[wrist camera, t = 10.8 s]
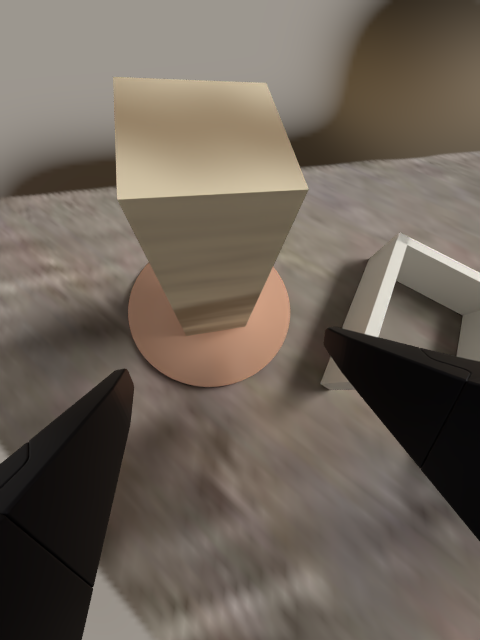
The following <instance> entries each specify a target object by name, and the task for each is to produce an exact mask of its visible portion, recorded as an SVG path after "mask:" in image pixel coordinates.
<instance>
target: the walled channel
mask: <svg viewBox="0 0 480 640" xmlns="http://www.w3.org/2000/svg"><path fill="white" fill-rule="evenodd" d="M396 281H398V282H400V283H402V284H403V285H405V286H407V287H409V288H411V289H413V290H415V291H417V292H419V293H421V294H423V295H424V296H426V297H428V298H430V299H432V300H434V301H436V302H438V303H440V304H442V305H444V306H445V307H447V308H449V309H451V310H453V311H455V312H457V313H459V314H461V315H463V318H462V324H461V330H460V337H459V343H458V349H457V355H456V356H457V357H461V358H466V359H471V360H475V361H480V273H479V272H477V271H475V270H473V269H471V268H469V267H467V266H465V265H463V264H461V263H459V262H457V261H455V260H453V259H451V258H449V257H447V256H445V255H443V254H442V253H440V252H438V251H436V250H434V249H432V248H430V247H428V246H426V245H424V244H422V243H420V242H418V241H416V240H414V239H412V238H410V237H408V236H406V235H404V234H402V233H400V232H399V233H398V234H397V235H396V236H395V237H393V238H392V239H391V240H390V241H389V242H388V243H387V244H385V245H384V246H383V247H382V248H381V249H380V250H378V251H377V252H376V253H375V254H374V255H373V256H372V257H370V258H369V260H368V263H367V265H366V268H365V271H364V273H363V276H362V278H361V281H360V283H359V286H358V288H357V291H356V293H355V296H354V299H353V301H352V304H351V306H350V309H349V311H348V314H347V316H346V319H345V322H344V324H343V327H342V328H343V329H347V330H351V331H355V332H359V333H363V334H367V335H371V336H375V337H378V336H379V333H380V330H381V327H382V323H383V320H384V317H385V314H386V311H387V308H388V304H389V301H390V298H391V295H392V292H393V289H394V285H395V282H396ZM320 384H321V385H323V386H324V387H326V388H328V389H330V390H354V389H355V388H354V387H353V386H352V385H351V383H350V382H349V381H348V380H347V379H346V377H345V376H344V375H343V374H342V372H341V371H340V369H339V368H338V366H337V365H336V363H335V362H334V360H333V359H332V357H330V360H329V362H328V365H327V367H326V370H325V372H324V375H323V378H322V380H321V383H320Z"/></svg>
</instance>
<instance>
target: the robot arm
mask: <svg viewBox="0 0 480 640" xmlns="http://www.w3.org/2000/svg"><path fill="white" fill-rule="evenodd" d="M324 346H325V348H326V350H327V351H328V353H329V354H330V356H331V357H332V359H333V360H334V362H335V363H336V365H337V366H338V368H339V369H340V371H341V372H342V374H343V375H344V376H345V377H346V379H347V380H348V381H349V382H350V383H351V385H352V386H353V387H354V388H355V390H356V391H357V392H358V393H359V394H360V396H361V397H362V398H363V399H364V401H365V402H366V403H367V404H368V405H369V407H370V408H371V409H372V410H373V411H374V413H375V414H376V415H377V416H378V418H379V419H380V420H381V421H382V422H383V424H384V425H385V426H386V427H387V429H388V430H389V431H390V432H391V433H392V435H393V436H394V437H395V438H396V440H397V441H398V442H399V443H400V444H401V446H402V447H403V448H404V449H405V451H406V452H407V453H408V454H409V455H410V457H411V458H412V459H413V460H414V461H415V463H416V464H417V465H418V466H419V468H421V470H422V471H423V473H424V474H425V475H426V476H427V478H428V479H429V480H430V481H431V482H432V484H433V485H434V486H435V487H436V489H437V490H438V491H439V492H440V493H441V495H442V496H443V497H444V498H445V500H446V501H447V502H448V503H449V504H450V506H451V507H452V508H453V509H454V511H455V512H456V513H457V514H458V515H459V517H460V518H461V519H462V520H463V522H464V523H465V524H466V525H467V526H468V528H469V529H470V530H471V531H472V533H473V534H474V535H475V536H476V537H477V539H478V540H479V541H480V361H475V360H471V359H466V358H461V357H457V356H452V355H448V354H444V353H439V352H435V351H431V350H427V349H423V348H418V347H415V346H411V345H407V344H403V343H399V342H395V341H391V340H387V339H383V338H379V337H375V336H371V335H367V334H363V333H359V332H355V331H351V330H347V329H343V328H339V327H329V328H327V329H326V330H325V336H324ZM133 394H134V385H133V382H132V379H131V377H130V374H129V372H128V370H127V369H120V370H116V371H114V372H113V373H112V374H110V375H109V376H108V377H107V378H105V379H104V380H103V381H102V382H100V383H99V384H98V385H97V386H96V387H94V388H93V389H92V390H91V391H89V392H88V393H87V394H86V395H85V396H83V397H82V398H81V399H80V400H78V401H77V402H76V403H75V404H74V405H72V406H71V407H70V408H69V409H67V410H66V411H65V412H64V413H62V414H61V415H60V416H59V417H58V418H56V419H55V420H54V421H53V422H51V423H50V424H49V425H48V426H47V427H45V428H44V429H43V430H42V431H40V432H39V433H38V434H37V435H35V436H34V437H33V438H32V439H31V440H30V441H29V443H26V444H24V445H23V446H22V447H21V448H19V449H18V450H17V451H16V452H15V453H13V454H12V455H11V456H10V457H8V458H7V459H6V460H5V461H3V462H2V463H1V464H0V640H82V636H83V632H84V627H85V623H86V618H87V614H88V609H89V605H90V601H91V595H92V591H93V588H92V587H93V586H94V582H95V577H96V573H97V569H98V565H99V560H100V556H101V551H102V547H103V543H104V538H105V534H106V529H107V525H108V521H109V516H110V512H111V507H112V503H113V499H114V494H115V490H116V485H117V481H118V477H119V472H120V468H121V463H122V459H123V455H124V450H125V446H126V441H127V437H128V433H129V428H130V422H131V414H132V404H133Z"/></svg>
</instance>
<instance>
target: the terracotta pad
mask: <svg viewBox="0 0 480 640" xmlns="http://www.w3.org/2000/svg"><path fill="white" fill-rule="evenodd" d="M128 320H129V326H130V330H131V333H132V336H133V339H134V341H135V343H136V345H137V347H138V349H139V350H140V352H141V353H142V355H143V356H144V357H145V358H146V359H147V360H148V362H149V363H150V364H151V365H152V366H154V367H155V368H156V369H157V370H159V371H160V372H161V373H163V374H165V375H167V376H168V377H170V378H172V379H174V380H177V381H179V382H182V383H185V384H189V385H194V386H201V387H219V386H225V385H230V384H233V383H236V382H239V381H242V380H244V379H246V378H248V377H250V376H252V375H254V374H255V373H257V372H258V371H260V370H261V369H262V368H263V367H265V366H266V365H267V364H268V363H269V362H270V361H271V360H272V359H273V357H274V356H275V355H276V354H277V352H278V351H279V349H280V348H281V346H282V344H283V342H284V340H285V337H286V334H287V331H288V328H289V321H290V304H289V298H288V294H287V290H286V288H285V285H284V283H283V281H282V279H281V277H280V276H279V274H278V273H277V271H276V270H275V269H274V267H273V268H272V270H271V272H270V274H269V276H268V279H267V281H266V283H265V285H264V287H263V289H262V292H261V294H260V296H259V298H258V300H257V302H256V305H255V307H254V309H253V311H252V313H251V315H250V318H249V320H248V322H247V324H246V326H245V327H239V328H233V329H227V330H221V331H215V332H209V333H203V334H196V335H190V336H186V334H185V332H184V330H183V328H182V326H181V324H180V323H179V321H178V319H177V317H176V315H175V313H174V311H173V309H172V307H171V305H170V303H169V301H168V299H167V297H166V295H165V293H164V291H163V289H162V287H161V285H160V283H159V281H158V279H157V277H156V275H155V273H154V271H153V269H152V267H151V265H150V263H148V264H147V265H146V266H145V267H144V269H143V270H142V271H141V273H140V274H139V276H138V277H137V279H136V281H135V283H134V286H133V288H132V291H131V294H130V298H129V305H128Z"/></svg>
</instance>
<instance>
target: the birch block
mask: <svg viewBox="0 0 480 640" xmlns="http://www.w3.org/2000/svg"><path fill="white" fill-rule="evenodd" d="M113 82H114V112H115V144H116V171H117V172H116V173H117V200H118V202H119V204H120V206H121V208H122V210H123V212H124V214H125V216H126V218H127V220H128V222H129V224H130V226H131V228H132V230H133V232H134V234H135V235H136V237H137V239H138V241H139V243H140V245H141V247H142V249H143V251H144V253H145V255H146V257H147V259H148V261H149V263H150V265H151V267H152V269H153V271H154V273H155V275H156V277H157V279H158V281H159V283H160V285H161V287H162V289H163V291H164V293H165V295H166V297H167V299H168V301H169V303H170V305H171V307H172V309H173V311H174V313H175V315H176V317H177V319H178V321H179V323H180V324H181V326H182V328H183V330H184V332H185V334H186V336H190V335H196V334H203V333H209V332H215V331H221V330H227V329H233V328H239V327H245V326H246V324H247V322H248V320H249V318H250V315H251V313H252V311H253V309H254V307H255V305H256V302H257V300H258V298H259V296H260V294H261V292H262V289H263V287H264V285H265V283H266V281H267V279H268V276H269V274H270V272H271V270H272V268H273V266H274V263H275V261H276V259H277V257H278V255H279V253H280V250H281V248H282V246H283V244H284V242H285V240H286V237H287V235H288V233H289V231H290V229H291V227H292V224H293V222H294V220H295V218H296V216H297V214H298V211H299V209H300V207H301V205H302V203H303V201H304V198H305V196H306V194H307V192H308V190H309V189H308V187H307V184H306V182H305V179H304V177H303V174H302V172H301V169H300V167H299V164H298V162H297V159H296V156H295V154H294V151H293V149H292V147H291V144H290V141H289V139H288V137H287V134H286V131H285V129H284V126H283V124H282V121H281V119H280V116H279V114H278V111H277V109H276V106H275V104H274V101H273V99H272V96H271V93H270V91H269V88H268V86H267V84H266V83H252V82H226V81H201V80H199V81H198V80H175V79H148V78H124V77H113Z"/></svg>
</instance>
